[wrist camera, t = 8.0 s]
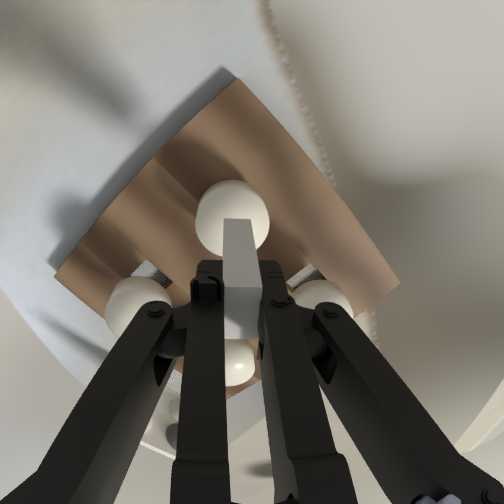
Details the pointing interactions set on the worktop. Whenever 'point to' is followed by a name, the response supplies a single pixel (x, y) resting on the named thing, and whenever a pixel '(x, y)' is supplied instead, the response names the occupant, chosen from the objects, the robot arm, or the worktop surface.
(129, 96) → the worktop surface
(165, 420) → the card
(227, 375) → the button
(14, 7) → the worktop surface
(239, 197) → the button
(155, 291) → the button
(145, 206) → the board
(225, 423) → the robot arm
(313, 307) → the button
